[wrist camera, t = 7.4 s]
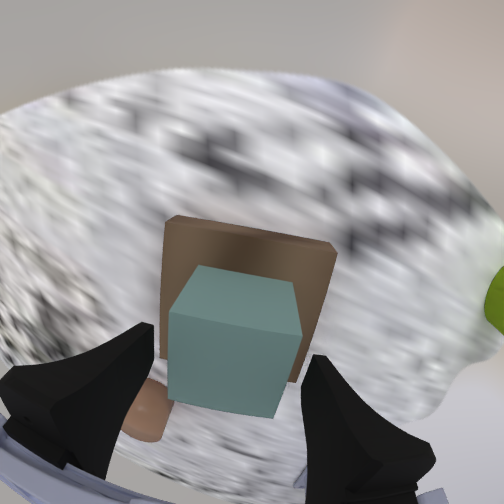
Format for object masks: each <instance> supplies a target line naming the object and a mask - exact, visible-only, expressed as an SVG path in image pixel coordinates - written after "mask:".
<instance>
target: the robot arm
mask: <svg viewBox="0 0 504 504" xmlns="http://www.w3.org/2000/svg"><path fill="white" fill-rule="evenodd" d="M153 361H154V325H152V324H148V323H144V322H141V323H139V324H137V325H135V326H134V327H132V328H130V329H129V330H127V331H125V332H124V333H122V334H120V335H119V336H117V337H115V338H113V339H112V340H110V341H108V342H106V343H104V344H102V345H100V346H98V347H96V348H94V349H92V350H89V351H87V352H85V353H82V354H79V355H76V356H73V357H70V358H66V359H63V360H59V361H55V362H50V363H44V364H37V365H23V366H13V367H12V368H11V369H10V370H9V371H8V372H7V373H6V374H5V375H4V376H3V377H2V378H1V380H0V397H1V399H2V401H3V403H4V405H5V406H6V408H7V410H8V412H9V413H10V415H11V416H10V418H9V419H8V420H7V419H6V418H5V417H4V416H3V415H2V414H1V413H0V480H2V481H3V482H4V483H5V484H6V485H8V486H9V487H10V488H11V489H13V490H14V491H15V492H17V493H18V494H19V495H21V496H22V497H23V498H25V499H26V500H27V501H29V502H31V503H32V504H174V503H170V502H167V501H163V500H159V499H156V498H153V497H149V496H146V495H143V494H140V493H136V492H134V491H131V490H128V489H125V488H122V487H120V486H117V485H115V484H112V483H109V482H107V481H105V479H106V474H107V471H108V466H109V463H110V459H111V456H112V453H113V450H114V447H115V444H116V441H117V438H118V435H119V432H120V430H121V427H122V424H123V422H124V419H125V417H126V415H127V413H128V411H129V409H130V407H131V405H132V404H133V402H134V400H135V398H136V396H137V395H138V393H139V391H140V389H141V388H142V386H143V384H144V382H145V380H146V379H147V377H148V374H149V372H150V369H151V367H152V364H153ZM301 408H302V415H303V422H304V429H305V436H306V443H307V467H306V469H305V470H304V472H303V473H302V474H301V476H300V477H299V478H298V480H297V481H296V482H295V483H294V485H293V487H294V488H305V496H306V501H305V504H449V503H448V500H447V497H446V494H445V492H444V489H443V488H439V489H436V490H433V491H429V492H426V493H423V494H421V495H419V496H417V497H416V494H415V491H416V490H418V486H417V483H416V482H417V481H419V480H420V479H421V478H422V477H423V476H424V475H425V474H426V473H428V472H429V471H430V470H431V468H432V467H433V466H434V464H435V462H436V457H435V455H434V453H433V450H432V448H431V446H430V444H429V443H428V442H426V441H423V440H421V439H419V438H417V437H414V436H412V435H410V434H408V433H406V432H405V431H403V430H401V429H399V428H398V427H396V426H395V425H393V424H391V423H390V422H389V421H387V420H386V419H384V418H383V417H382V416H380V415H379V414H378V413H377V412H375V411H374V410H373V409H372V408H371V407H370V406H369V405H367V404H366V403H365V402H364V401H363V400H362V399H361V398H360V397H359V396H358V394H357V393H356V392H355V391H354V390H353V389H352V388H351V387H350V386H349V384H348V383H347V382H346V381H345V379H344V378H343V377H342V376H341V374H340V373H339V372H338V371H337V369H336V368H335V367H334V365H333V364H332V363H331V361H330V360H329V359H328V358H327V356H324V355H315V354H313V356H312V359H311V362H310V364H309V367H308V370H307V372H306V375H305V377H304V380H303V382H302V385H301Z"/></svg>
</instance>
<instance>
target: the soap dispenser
mask: <svg viewBox="0 0 504 504" xmlns="http://www.w3.org/2000/svg"><path fill="white" fill-rule="evenodd" d="M485 316H486V318H487V320H488V321H489V322H490V323H491V324H492V325H493V326H494V327H495V328H496V329H497V330H499V331H500V332H501V333H502V334H503V335H504V266H503V267H502V268H501V269H500V271H499V272H498V273H497V275H496V276H495V278H494V279H493V281H492V283H491V285H490V287H489V290H488V293H487V296H486V300H485Z"/></svg>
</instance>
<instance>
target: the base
mask: <svg viewBox="0 0 504 504" xmlns="http://www.w3.org/2000/svg"><path fill="white" fill-rule="evenodd" d="M337 254H338V253H337V252H336V250H335V249H334V248H333V246H332V245H331V244H330V243H329V242H324V241H319V240H314V239H309V238H303V237H298V236H293V235H288V234H282V233H277V232H272V231H266V230H261V229H255V228H250V227H244V226H238V225H233V224H227V223H221V222H216V221H210V220H204V219H198V218H192V217H186V216H180V215H176V216H174V217H173V218H171V219H169V220H168V221H166V222H165V230H164V242H163V256H162V272H161V293H160V358H162V359H166V360H168V323H169V310H170V309H171V307H172V306H173V304H174V302H175V301H176V299H177V298H178V296H179V294H180V293H181V291H182V290H183V288H184V287H185V285H186V283H187V282H188V280H189V279H190V277H191V276H192V274H193V273H194V271H195V269H196V268H197V266H198V265H202V266H207V267H212V268H217V269H223V270H228V271H233V272H239V273H244V274H249V275H255V276H260V277H266V278H271V279H277V280H282V281H288V282H293V287H294V293H295V298H296V303H297V308H298V314H299V319H300V324H301V330H302V335H303V337H302V340H301V343H300V346H299V349H298V352H297V355H296V358H295V361H294V364H293V366H292V369H291V372H290V375H289V378H288V381H287V382H293V383H296V382H297V379H298V376H299V374H300V371H301V368H302V365H303V363H304V360H305V357H306V354H307V351H308V348H309V346H310V343H311V340H312V337H313V334H314V331H315V328H316V325H317V322H318V319H319V315H320V312H321V309H322V306H323V303H324V299H325V296H326V293H327V289H328V286H329V283H330V279H331V276H332V272H333V268H334V265H335V261H336V257H337Z"/></svg>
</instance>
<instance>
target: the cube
mask: <svg viewBox="0 0 504 504" xmlns="http://www.w3.org/2000/svg"><path fill="white" fill-rule="evenodd" d="M302 337H303V335H302V330H301V324H300V319H299V314H298V308H297V303H296V298H295V293H294V287H293V282H288V281H282V280H277V279H271V278H266V277H260V276H255V275H249V274H244V273H239V272H233V271H228V270H223V269H217V268H212V267H207V266H202V265H198V266H197V268H196V269H195V271H194V273H193V274H192V276H191V277H190V279H189V280H188V282H187V283H186V285H185V287H184V288H183V290H182V291H181V293H180V294H179V296H178V298H177V299H176V301H175V302H174V304H173V306H172V307H171V309H170V310H169V323H168V399H170V400H174V401H178V402H182V403H186V404H190V405H194V406H199V407H204V408H208V409H213V410H219V411H224V412H230V413H236V414H242V415H249V416H256V417H264V418H272V419H273V418H274V415H275V413H276V410H277V407H278V405H279V402H280V399H281V397H282V394H283V391H284V389H285V386H286V383H287V381H288V378H289V375H290V372H291V369H292V366H293V364H294V361H295V358H296V355H297V352H298V349H299V346H300V343H301V340H302Z"/></svg>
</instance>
